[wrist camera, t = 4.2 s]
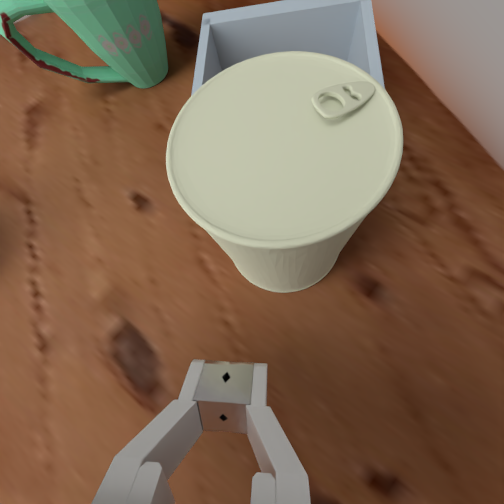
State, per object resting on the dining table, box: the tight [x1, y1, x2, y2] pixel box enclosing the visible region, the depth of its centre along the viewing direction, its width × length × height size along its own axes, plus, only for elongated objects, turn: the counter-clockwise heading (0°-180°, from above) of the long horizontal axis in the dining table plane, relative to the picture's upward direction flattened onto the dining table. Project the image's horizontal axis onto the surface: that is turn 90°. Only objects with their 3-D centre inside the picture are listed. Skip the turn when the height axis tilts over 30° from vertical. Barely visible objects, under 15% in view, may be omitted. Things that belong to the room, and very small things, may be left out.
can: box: [166, 51, 403, 293], centre depth 14 cm, size 9×9×12 cm
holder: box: [191, 0, 385, 96], centre depth 21 cm, size 12×14×6 cm
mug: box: [0, 0, 168, 88], centre depth 24 cm, size 15×10×10 cm
